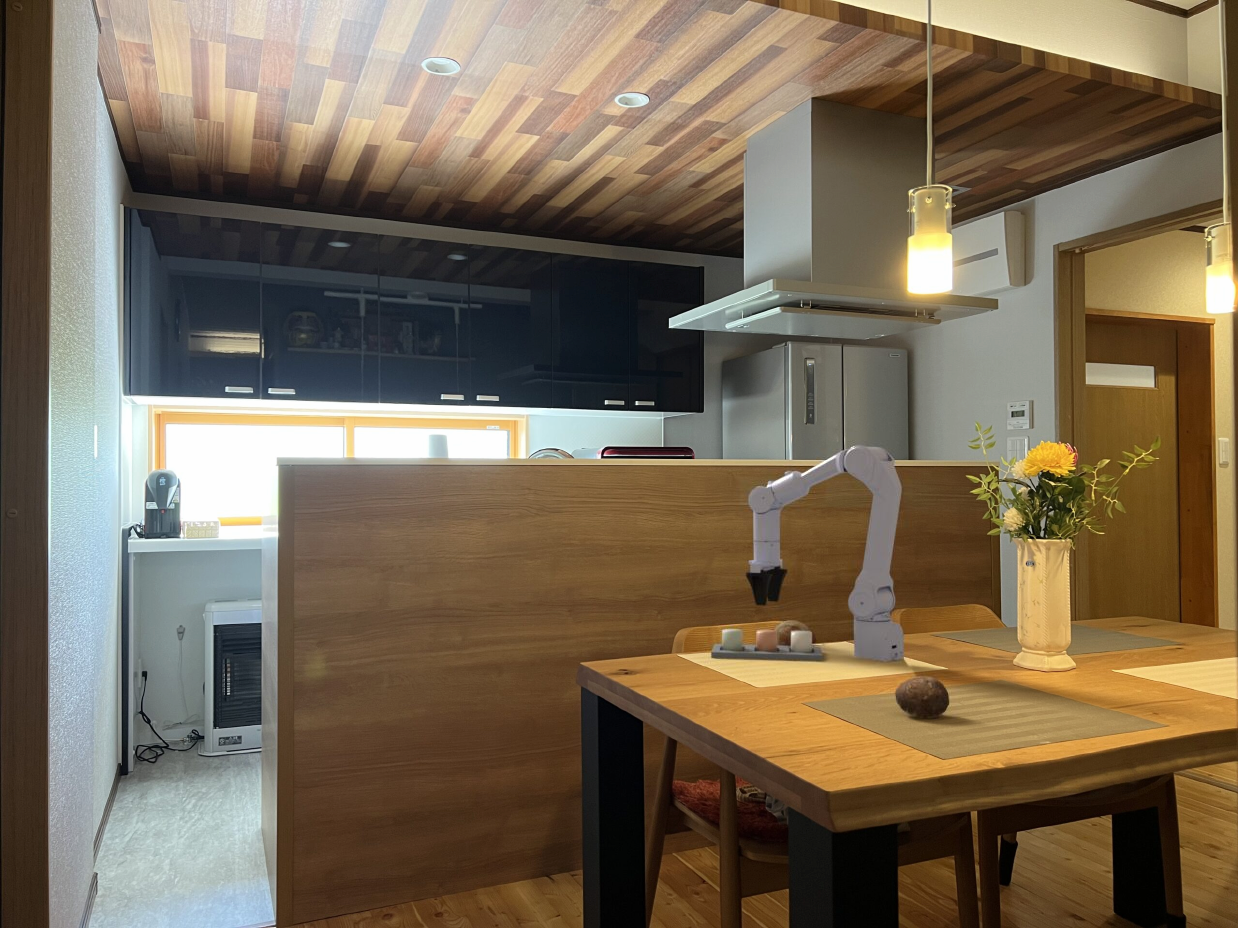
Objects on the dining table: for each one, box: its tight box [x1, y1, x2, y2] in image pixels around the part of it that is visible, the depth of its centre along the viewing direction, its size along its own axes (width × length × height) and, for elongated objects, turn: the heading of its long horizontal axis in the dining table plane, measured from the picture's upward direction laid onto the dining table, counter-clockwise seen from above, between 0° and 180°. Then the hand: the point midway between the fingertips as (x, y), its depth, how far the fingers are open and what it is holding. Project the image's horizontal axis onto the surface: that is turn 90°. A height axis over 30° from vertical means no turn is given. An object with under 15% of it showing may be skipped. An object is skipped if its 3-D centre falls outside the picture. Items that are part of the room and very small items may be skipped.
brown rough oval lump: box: [894, 675, 950, 719], centre depth 148 cm, size 8×8×6 cm
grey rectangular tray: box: [710, 643, 824, 662], centre depth 192 cm, size 22×10×2 cm, turn 80°
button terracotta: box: [755, 629, 778, 652], centre depth 192 cm, size 4×4×5 cm
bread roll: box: [773, 619, 818, 646], centre depth 209 cm, size 10×10×8 cm
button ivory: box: [791, 631, 813, 653], centre depth 191 cm, size 4×4×5 cm
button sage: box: [721, 628, 744, 651], centre depth 194 cm, size 4×4×5 cm
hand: (767, 603), depth 207 cm, fingers open, 7 cm apart
